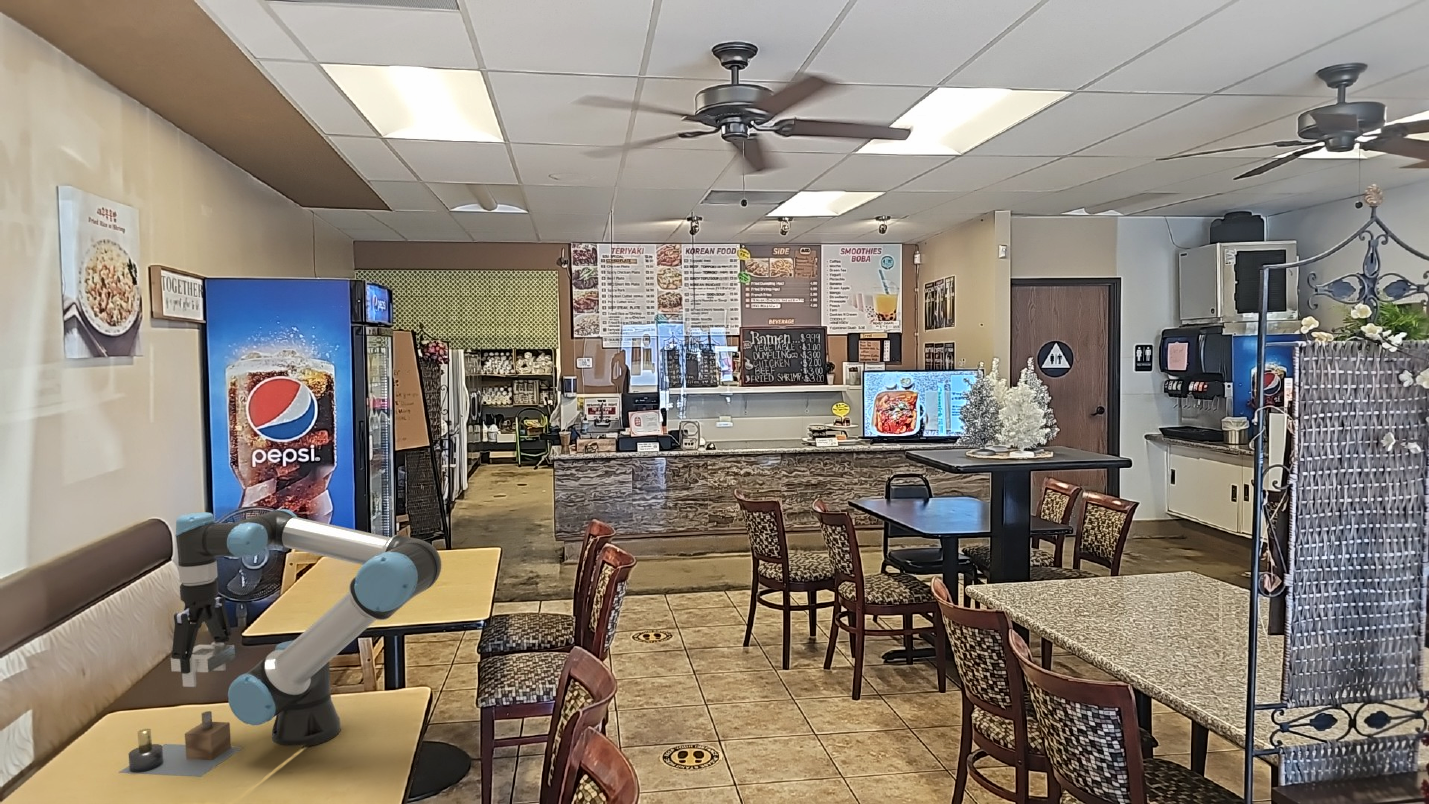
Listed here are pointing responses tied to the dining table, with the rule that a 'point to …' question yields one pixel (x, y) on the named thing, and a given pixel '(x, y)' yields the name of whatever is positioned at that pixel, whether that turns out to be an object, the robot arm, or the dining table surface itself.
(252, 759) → the dining table surface
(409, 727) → the dining table surface
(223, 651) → the silver square ring
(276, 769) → the dining table surface
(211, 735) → the stand
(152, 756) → the hub
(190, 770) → the board
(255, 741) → the dining table surface
